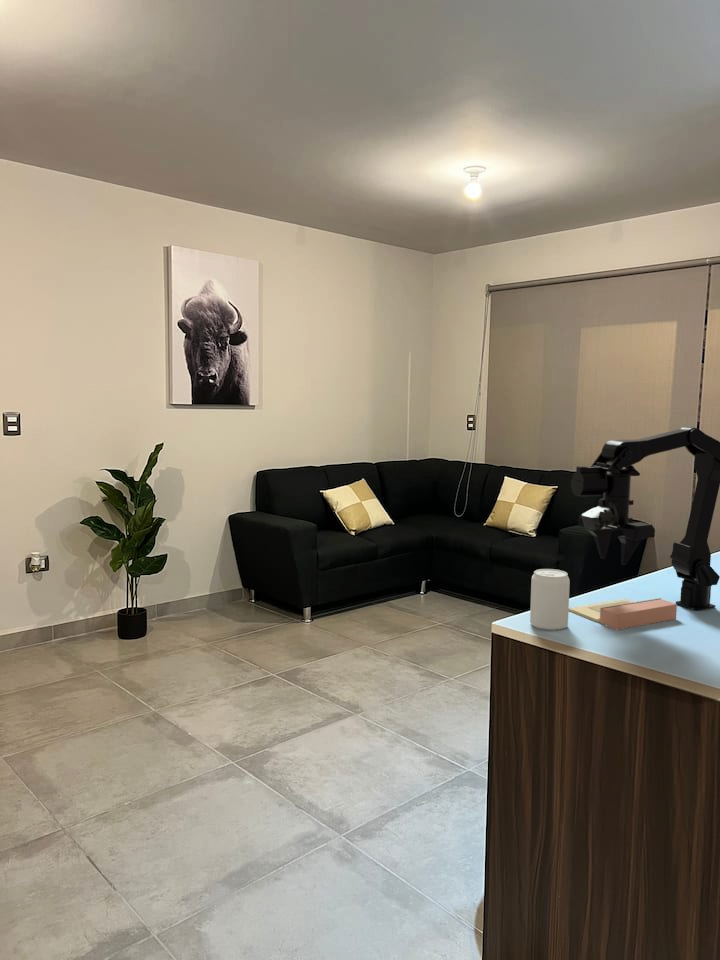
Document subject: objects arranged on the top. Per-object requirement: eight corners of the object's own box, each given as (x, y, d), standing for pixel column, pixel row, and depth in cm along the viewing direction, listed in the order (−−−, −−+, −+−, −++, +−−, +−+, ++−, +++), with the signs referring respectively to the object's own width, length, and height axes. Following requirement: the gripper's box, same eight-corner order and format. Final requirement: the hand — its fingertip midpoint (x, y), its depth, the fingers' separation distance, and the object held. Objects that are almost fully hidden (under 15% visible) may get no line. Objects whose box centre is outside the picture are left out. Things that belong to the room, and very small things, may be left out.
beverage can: (569, 633, 157) (571, 578, 156) (530, 630, 159) (532, 576, 157) (566, 621, 165) (568, 569, 164) (529, 619, 167) (531, 567, 165)
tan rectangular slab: (625, 601, 181) (625, 598, 181) (657, 612, 172) (657, 609, 172) (568, 610, 173) (568, 607, 173) (598, 622, 164) (598, 619, 164)
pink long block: (658, 613, 171) (659, 598, 171) (676, 619, 167) (677, 603, 166) (599, 623, 164) (600, 607, 163) (616, 629, 159) (617, 613, 159)
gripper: (561, 491, 174) (559, 556, 176) (620, 503, 157) (616, 574, 159) (597, 489, 178) (594, 552, 180) (658, 500, 162) (654, 569, 164)
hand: (613, 561), depth 171 cm, fingers open, 6 cm apart
